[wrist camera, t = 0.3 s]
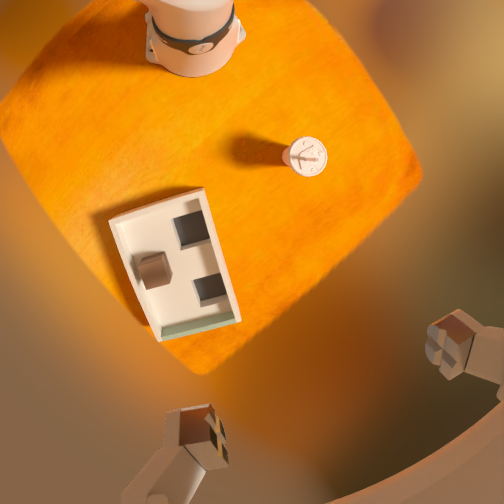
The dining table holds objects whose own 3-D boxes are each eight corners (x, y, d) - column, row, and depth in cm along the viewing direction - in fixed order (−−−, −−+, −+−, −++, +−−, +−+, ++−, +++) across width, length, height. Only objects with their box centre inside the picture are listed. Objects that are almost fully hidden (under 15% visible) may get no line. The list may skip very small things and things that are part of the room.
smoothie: (268, 162, 51) (288, 163, 38) (285, 133, 50) (311, 125, 36) (297, 179, 53) (325, 187, 39) (313, 151, 51) (346, 150, 38)
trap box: (118, 214, 50) (108, 220, 44) (203, 186, 51) (202, 190, 45) (161, 325, 58) (158, 342, 52) (238, 306, 59) (241, 321, 53)
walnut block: (142, 257, 50) (136, 266, 46) (164, 251, 50) (161, 259, 46) (150, 279, 51) (146, 290, 47) (172, 273, 52) (169, 283, 47)
